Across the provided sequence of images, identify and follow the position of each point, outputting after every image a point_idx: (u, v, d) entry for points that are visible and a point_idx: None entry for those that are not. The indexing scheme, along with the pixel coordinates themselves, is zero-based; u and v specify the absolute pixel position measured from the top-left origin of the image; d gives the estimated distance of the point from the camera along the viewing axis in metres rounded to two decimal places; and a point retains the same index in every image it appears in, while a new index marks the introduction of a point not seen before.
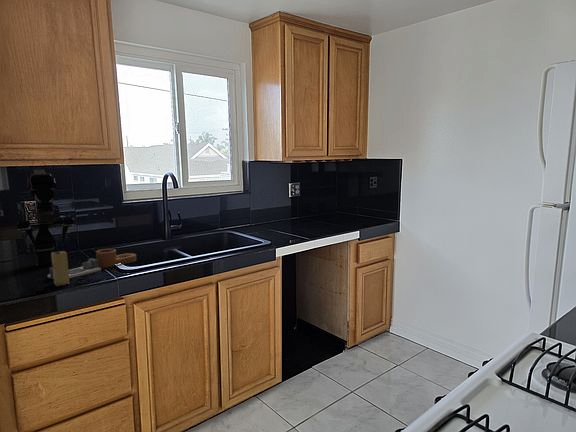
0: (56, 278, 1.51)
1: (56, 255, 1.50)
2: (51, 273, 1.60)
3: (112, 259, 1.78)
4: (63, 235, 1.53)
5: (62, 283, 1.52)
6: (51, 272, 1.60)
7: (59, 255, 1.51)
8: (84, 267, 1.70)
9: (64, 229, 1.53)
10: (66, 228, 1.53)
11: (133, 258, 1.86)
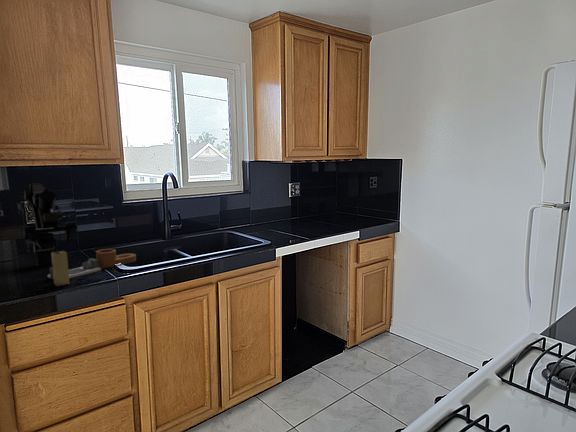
0: (56, 278, 1.51)
1: (56, 255, 1.50)
2: (51, 273, 1.60)
3: (112, 259, 1.78)
4: (67, 237, 1.62)
5: (62, 283, 1.52)
6: (51, 272, 1.60)
7: (59, 255, 1.51)
8: (84, 267, 1.70)
9: (68, 231, 1.63)
10: (69, 230, 1.63)
11: (133, 258, 1.86)
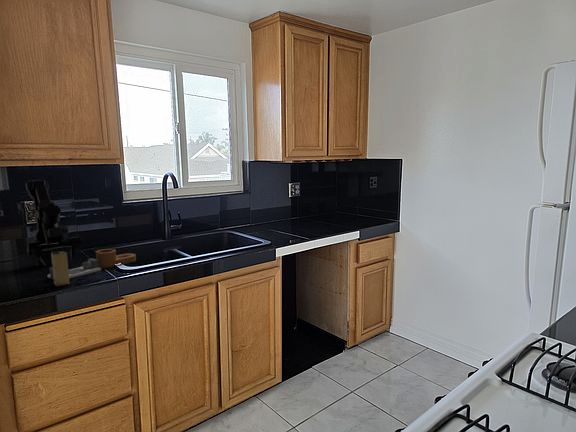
0: (56, 278, 1.51)
1: (56, 255, 1.50)
2: (51, 273, 1.60)
3: (112, 259, 1.78)
4: (72, 252, 1.57)
5: (62, 283, 1.52)
6: (51, 272, 1.60)
7: (59, 255, 1.51)
8: (84, 267, 1.70)
9: (73, 246, 1.58)
10: (74, 245, 1.58)
11: (133, 258, 1.86)
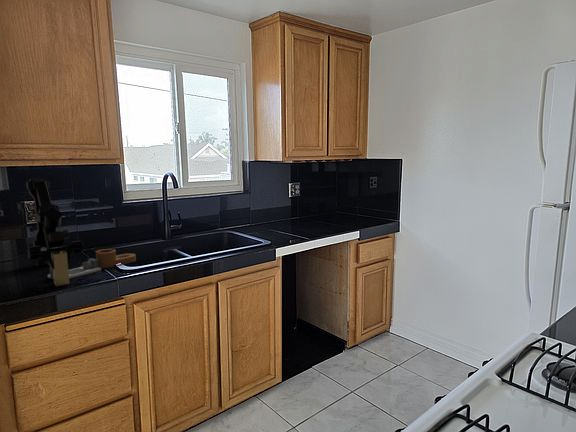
0: (56, 278, 1.51)
1: (56, 255, 1.50)
2: (51, 273, 1.60)
3: (112, 259, 1.78)
4: (67, 257, 1.55)
5: (62, 283, 1.52)
6: (51, 272, 1.60)
7: (59, 255, 1.51)
8: (84, 267, 1.70)
9: (68, 251, 1.56)
10: (70, 250, 1.56)
11: (133, 258, 1.86)
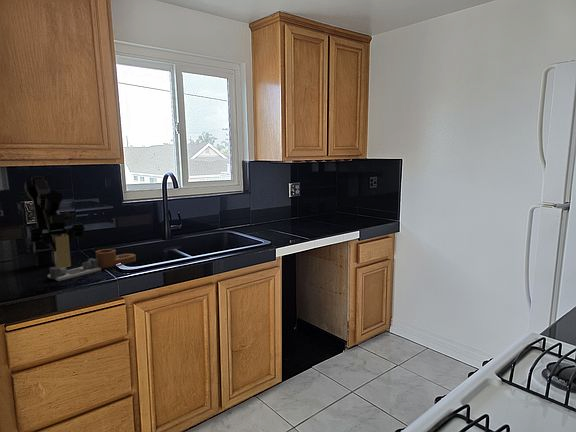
0: (58, 260, 1.52)
1: (58, 237, 1.51)
2: (51, 273, 1.60)
3: (112, 259, 1.78)
4: (69, 240, 1.56)
5: (64, 265, 1.54)
6: (51, 272, 1.60)
7: (61, 237, 1.52)
8: (84, 267, 1.70)
9: (69, 234, 1.57)
10: (71, 233, 1.57)
11: (133, 258, 1.86)
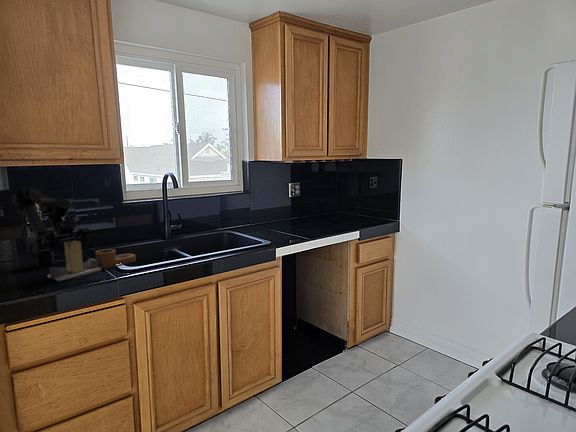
0: (72, 265, 1.64)
1: (72, 244, 1.63)
2: (51, 273, 1.60)
3: (112, 259, 1.77)
4: (84, 242, 1.70)
5: (77, 270, 1.66)
6: (51, 272, 1.60)
7: (74, 244, 1.64)
8: (84, 267, 1.70)
9: (83, 236, 1.70)
10: (85, 235, 1.71)
11: (132, 258, 1.86)
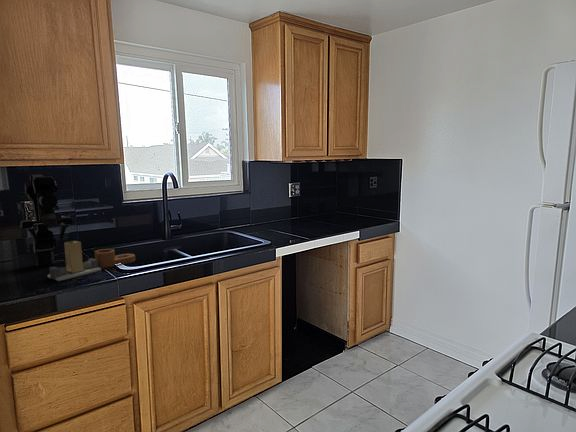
0: (72, 265, 1.64)
1: (72, 244, 1.63)
2: (51, 273, 1.60)
3: (110, 259, 1.78)
4: (62, 233, 1.70)
5: (77, 270, 1.66)
6: (51, 272, 1.60)
7: (74, 244, 1.64)
8: (84, 267, 1.70)
9: (63, 228, 1.70)
10: (65, 227, 1.70)
11: (132, 258, 1.85)
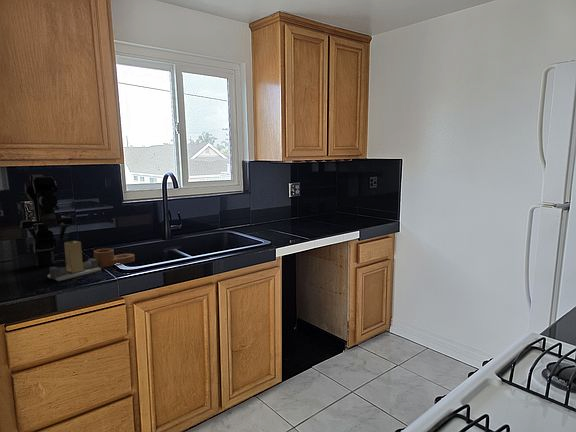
0: (72, 265, 1.64)
1: (72, 244, 1.63)
2: (51, 273, 1.60)
3: (108, 259, 1.78)
4: (62, 233, 1.70)
5: (77, 270, 1.66)
6: (51, 272, 1.60)
7: (74, 244, 1.64)
8: (84, 267, 1.70)
9: (63, 228, 1.70)
10: (65, 227, 1.70)
11: (131, 258, 1.85)
